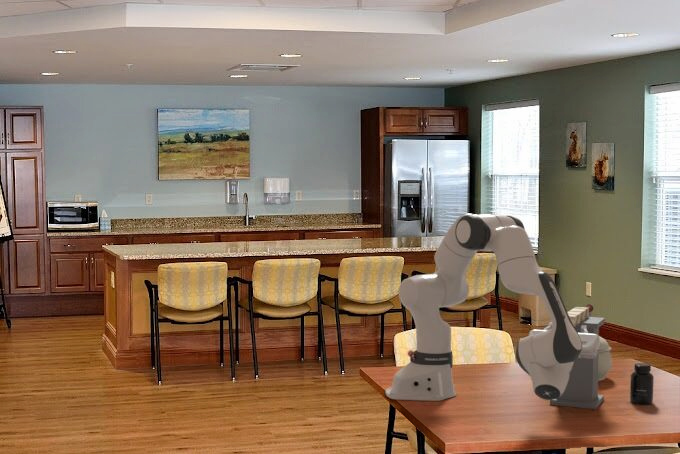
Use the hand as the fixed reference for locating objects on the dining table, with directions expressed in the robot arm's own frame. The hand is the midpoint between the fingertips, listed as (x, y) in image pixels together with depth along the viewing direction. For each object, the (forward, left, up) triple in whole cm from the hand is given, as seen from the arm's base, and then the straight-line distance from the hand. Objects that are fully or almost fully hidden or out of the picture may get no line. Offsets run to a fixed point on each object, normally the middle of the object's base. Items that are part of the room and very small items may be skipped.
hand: (568, 325), depth 292 cm
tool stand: (+7, +13, -26) cm, 30 cm away
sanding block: (+5, +9, 0) cm, 10 cm away
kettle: (+21, +49, -26) cm, 60 cm away
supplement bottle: (+27, +11, -26) cm, 39 cm away
